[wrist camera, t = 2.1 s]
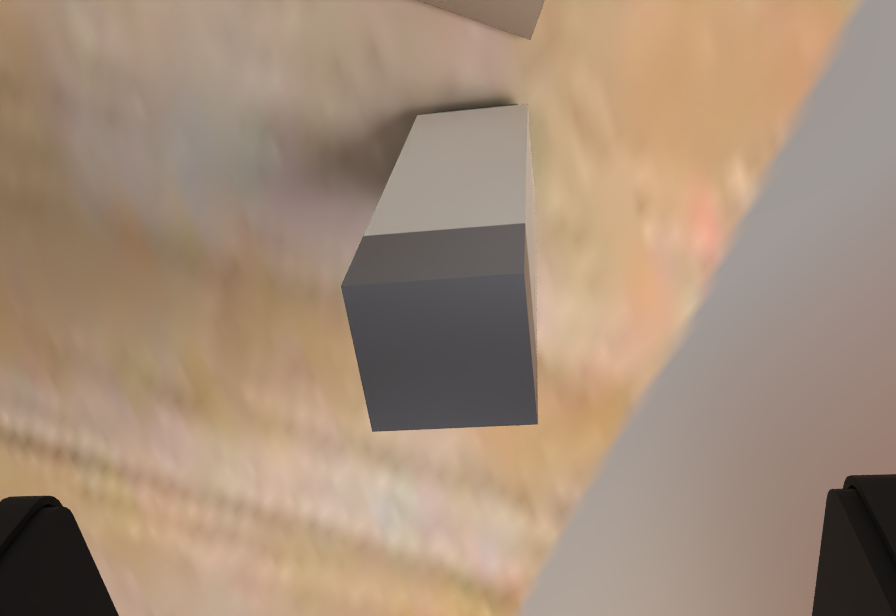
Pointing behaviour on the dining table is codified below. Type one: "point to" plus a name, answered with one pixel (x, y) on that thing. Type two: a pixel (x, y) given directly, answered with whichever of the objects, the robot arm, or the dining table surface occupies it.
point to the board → (497, 13)
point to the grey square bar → (451, 278)
